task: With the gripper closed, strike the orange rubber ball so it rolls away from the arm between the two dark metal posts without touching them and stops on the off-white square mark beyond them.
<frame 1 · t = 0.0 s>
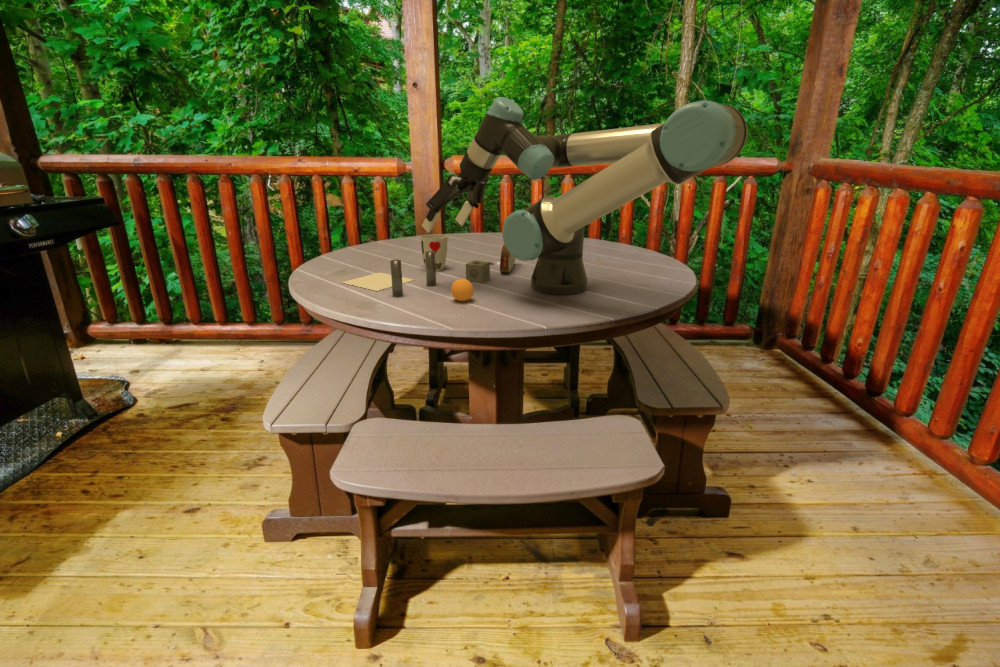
hand: (443, 225, 142), 15 cm above the table, tool tilted 35°, fingers open, 13 cm apart
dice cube: (478, 281, 149), on the table
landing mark: (378, 281, 146), on the table
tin: (508, 270, 160), on the table
left post: (397, 295, 134), on the table
ball: (462, 290, 129), on the table
cup: (435, 270, 160), on the table
right post: (431, 284, 143), on the table
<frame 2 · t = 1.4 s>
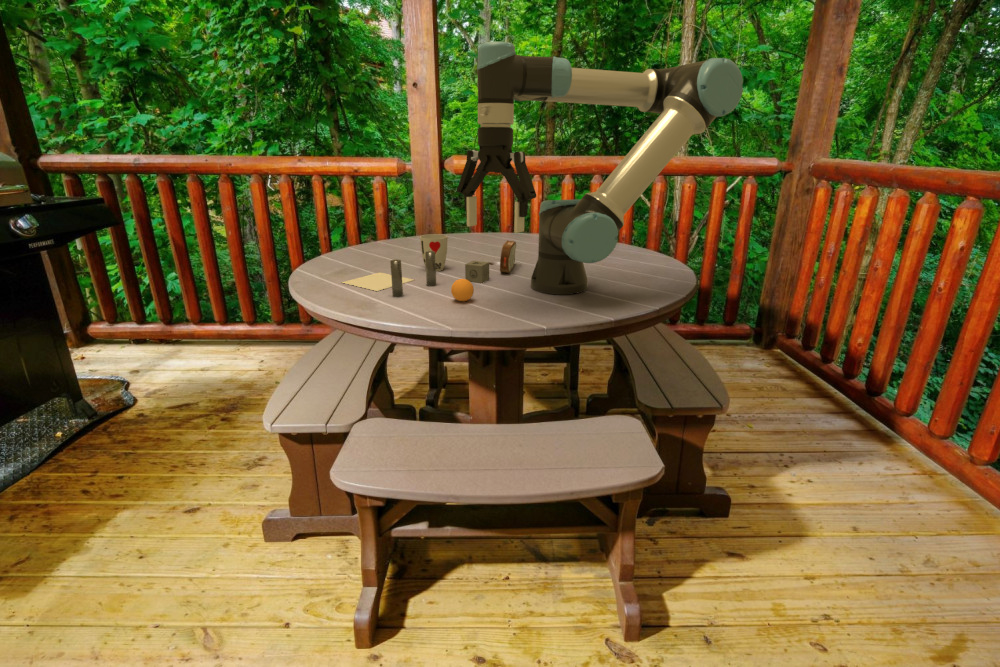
hand: (494, 228, 118), 19 cm above the table, tool pointing down, fingers open, 12 cm apart
nothing on the table moved.
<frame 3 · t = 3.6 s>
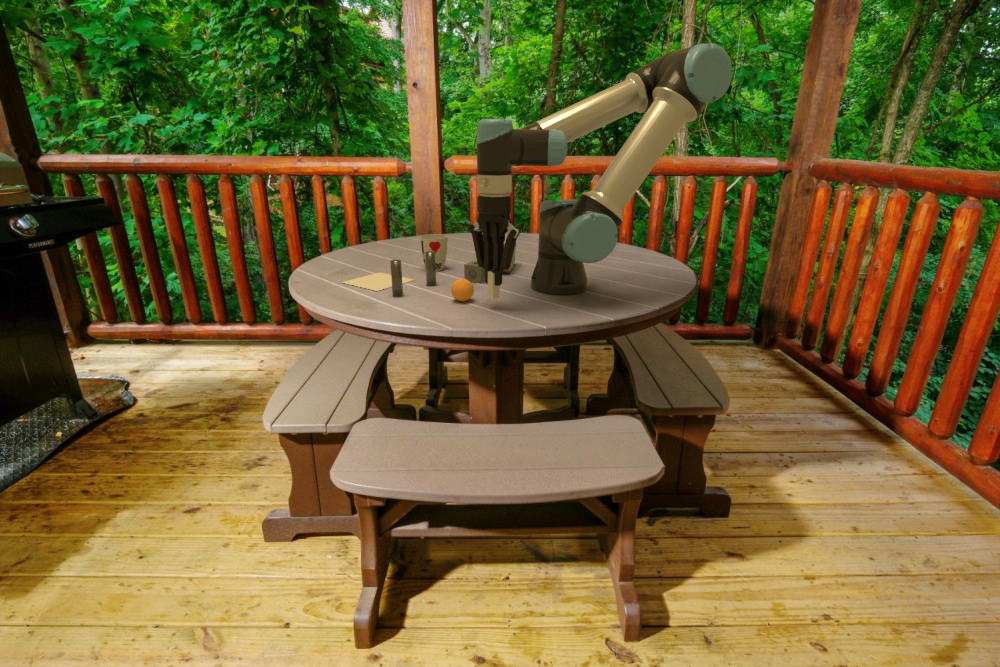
hand: (493, 297, 124), 2 cm above the table, tool pointing down, fingers closed
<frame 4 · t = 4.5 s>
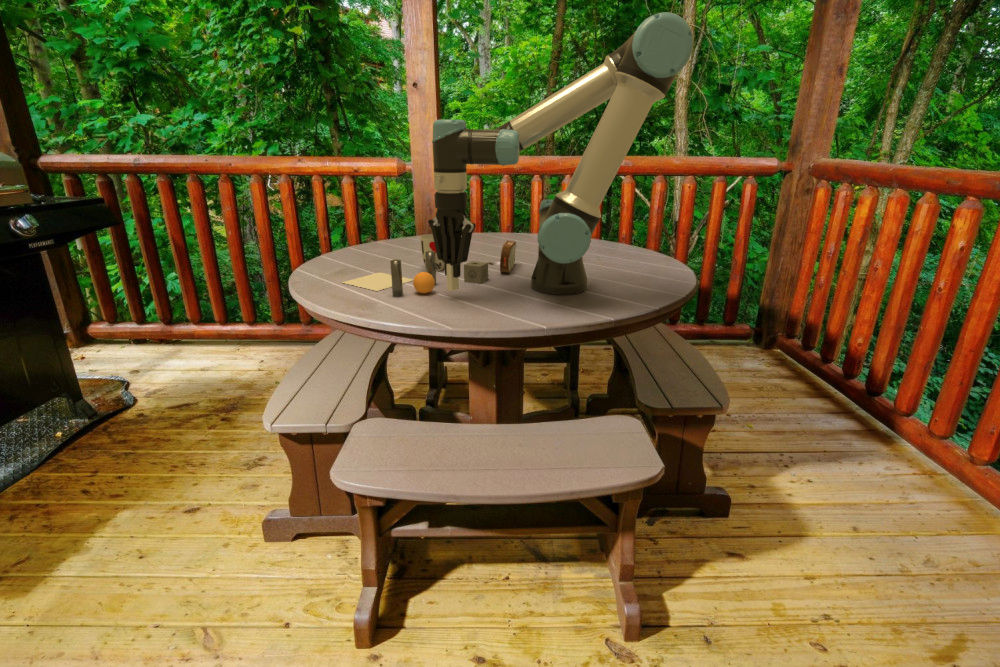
hand: (453, 289, 131), 2 cm above the table, tool pointing down, fingers closed
ball: (424, 282, 135), on the table
everything else where it was.
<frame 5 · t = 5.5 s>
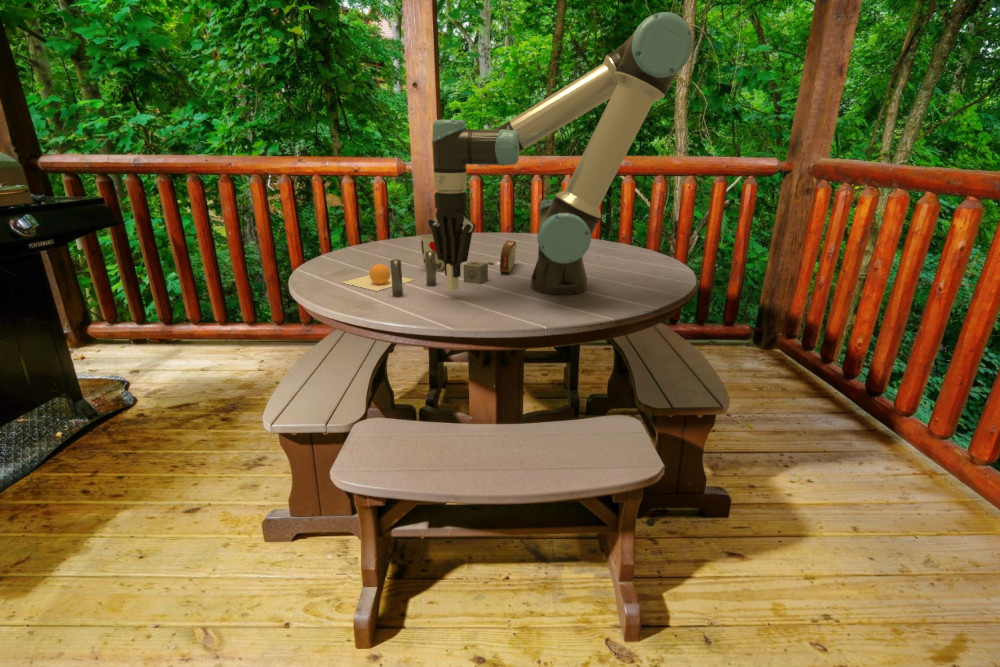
hand: (453, 289, 131), 2 cm above the table, tool pointing down, fingers closed
ball: (379, 274, 143), on the table
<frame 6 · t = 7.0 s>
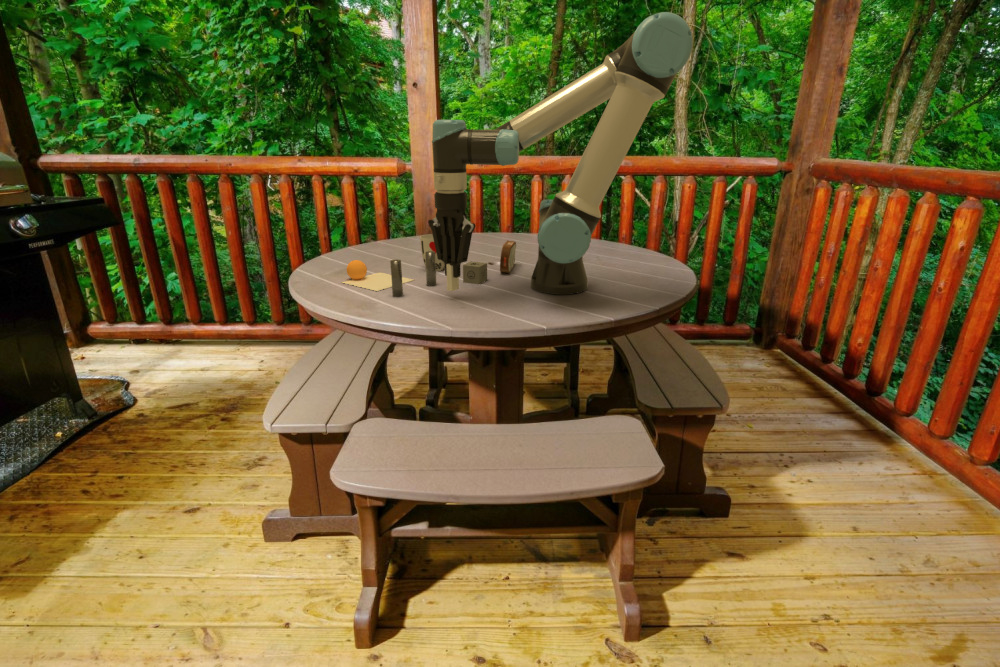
hand: (453, 289, 131), 2 cm above the table, tool pointing down, fingers closed
ball: (356, 269, 147), on the table
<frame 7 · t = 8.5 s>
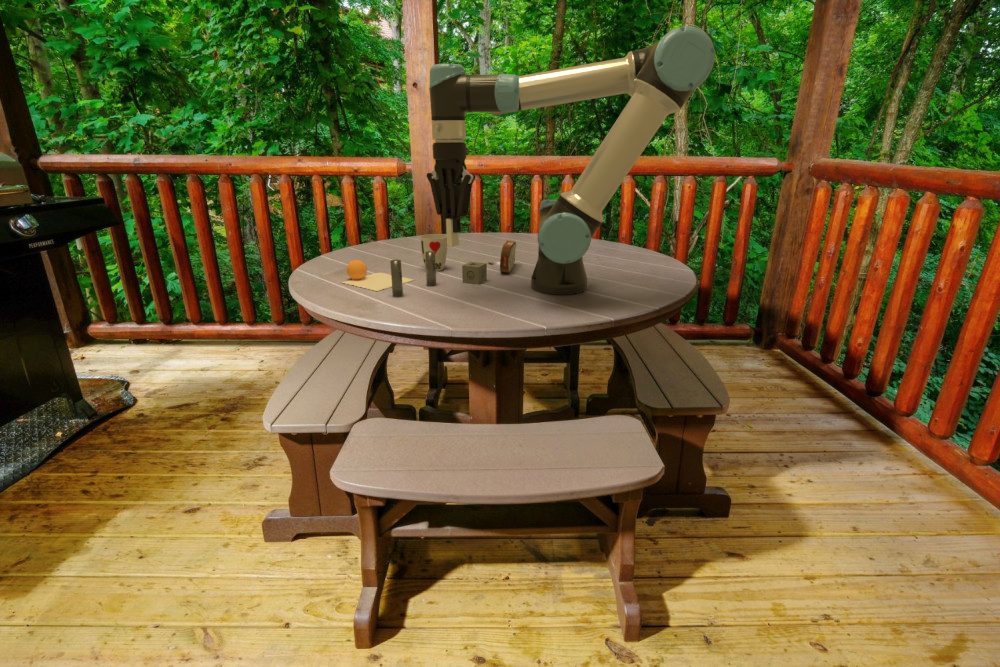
hand: (453, 245, 127), 13 cm above the table, tool pointing down, fingers closed
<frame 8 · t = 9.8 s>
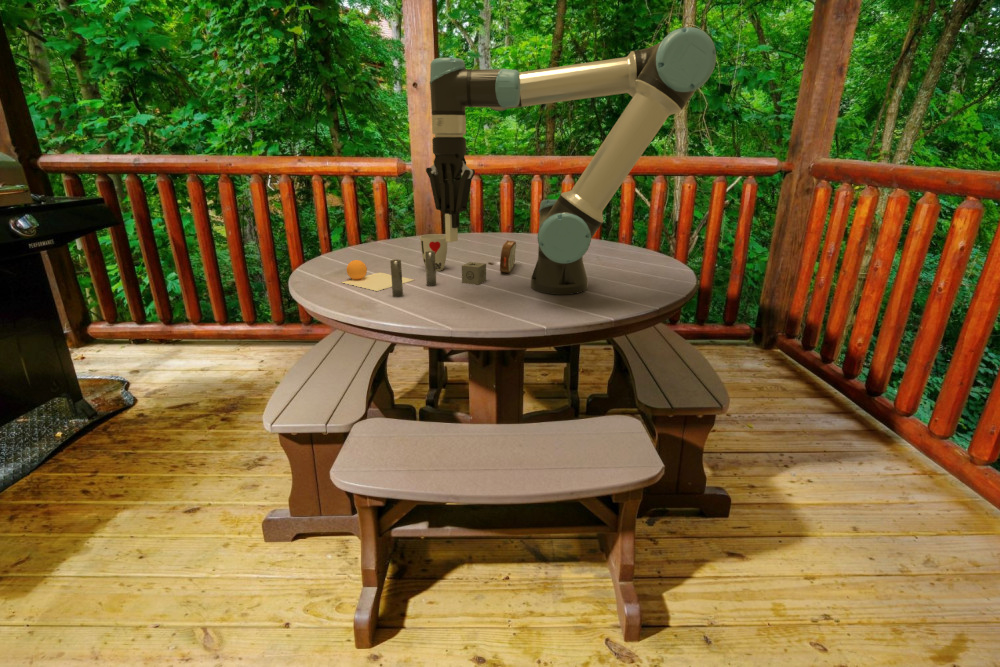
hand: (451, 241, 126), 14 cm above the table, tool pointing down, fingers closed
at the end: ball 6.7 cm from the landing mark (horizontally); ball never touched left post; ball never touched right post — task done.
